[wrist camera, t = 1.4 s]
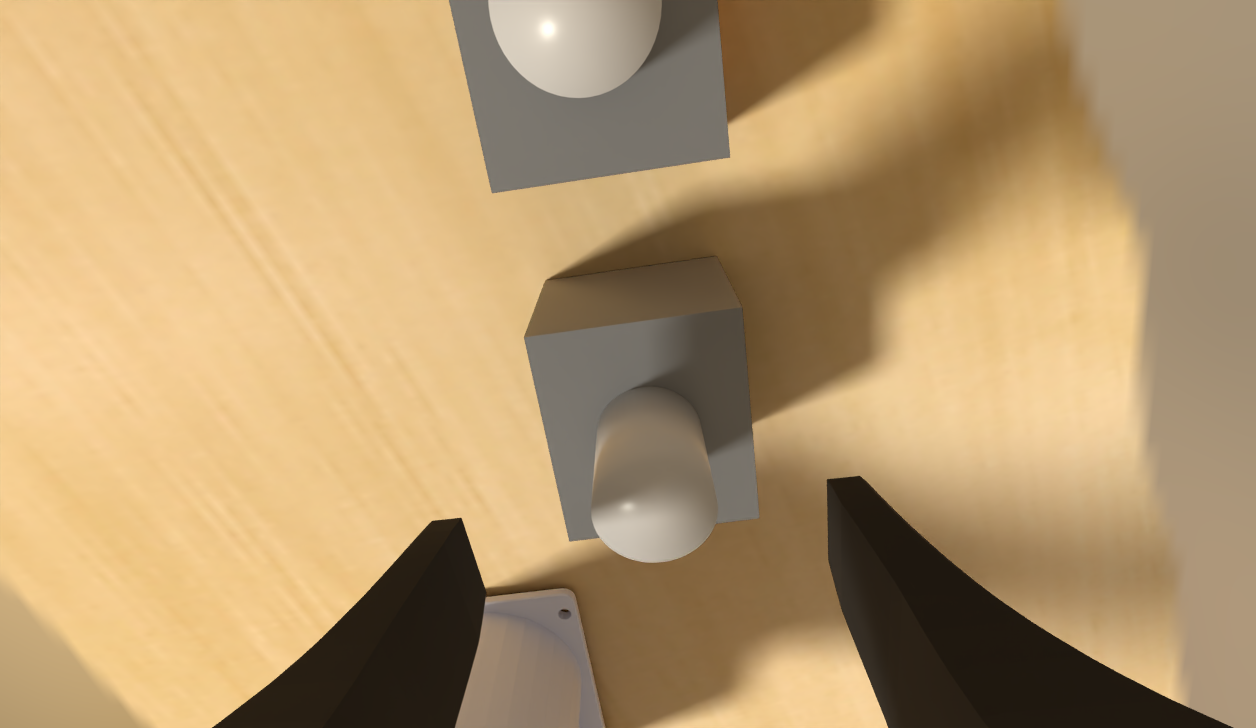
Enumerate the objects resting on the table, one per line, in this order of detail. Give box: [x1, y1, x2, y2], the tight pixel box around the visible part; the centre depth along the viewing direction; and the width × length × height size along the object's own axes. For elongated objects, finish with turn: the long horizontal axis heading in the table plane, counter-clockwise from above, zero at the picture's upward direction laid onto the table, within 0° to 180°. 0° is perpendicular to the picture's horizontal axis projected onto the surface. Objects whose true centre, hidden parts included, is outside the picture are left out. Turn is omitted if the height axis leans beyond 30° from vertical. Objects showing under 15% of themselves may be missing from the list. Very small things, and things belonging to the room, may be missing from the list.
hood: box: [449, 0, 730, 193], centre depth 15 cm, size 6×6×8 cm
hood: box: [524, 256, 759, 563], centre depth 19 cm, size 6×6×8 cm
